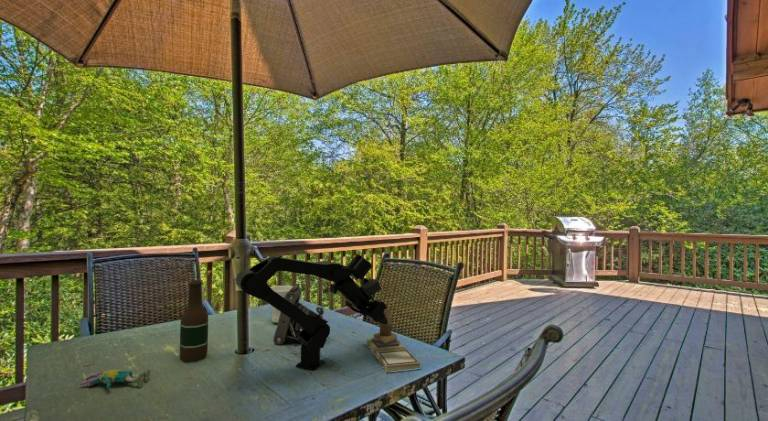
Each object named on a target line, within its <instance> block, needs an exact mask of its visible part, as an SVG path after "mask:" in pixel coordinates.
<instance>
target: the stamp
mask: <svg viewBox="0 0 768 421" xmlns="http://www.w3.org/2000/svg"><path fill="white" fill-rule="evenodd" d="M384 314H385V316H386V319H387V321H388V324H387V325H384V324H381V323H379V332H377V333H373V338H374V341H376V342H379V343H381V344H384V345H387V344H390V343H393V342H396V341H397V340H398V339H397V338H398V334H396V333H394V332H392V322H393V321H392V317H393V316H392V315H393V313H392V311H391V310H387V309H385V310H384Z"/></svg>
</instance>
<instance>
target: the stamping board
mask: <svg viewBox="0 0 768 421" xmlns="http://www.w3.org/2000/svg"><path fill="white" fill-rule="evenodd" d="M372 338H373V337H369V338H366V340H365V342H366V343H367V345H368V346H369V347H370V349H371V350H372V352H373V353H374V354H375V356H376V357H377V359H378V360H379V362H380V363H381V364H382V366H383V367H384V369H385V370H386V371H387V372H391V371H398V370H407V369H415V368H420V369H421V362H420V361H419V360H418V359H417V358H416V357H415V356H414V355H413V354H412V353H411V352H410V351H409V350H408V348H406V347H405V346H404V345H403V343H401V342H400V340H398V339H397V342H398V343H399V346H393V347H382V348H377V346H376V345H375V344H374V343H373V341H372ZM366 343H365V344H366ZM367 345H366V346H367ZM368 346H367V347H368ZM369 347H368V348H369ZM370 349H369V350H370ZM371 350H370V351H371ZM372 352H371V353H372ZM373 353H372V354H373ZM375 356H374V357H375ZM376 357H375V358H376ZM377 359H376V360H377ZM378 360H377V361H378ZM379 362H378V363H379ZM380 363H379V364H380ZM381 364H380V365H381ZM382 366H381V367H382ZM383 367H382V368H383ZM384 369H383V370H384ZM385 370H384V371H385ZM386 371H385V372H386Z"/></svg>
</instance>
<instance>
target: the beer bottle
mask: <svg viewBox="0 0 768 421" xmlns="http://www.w3.org/2000/svg"><path fill="white" fill-rule="evenodd" d="M202 284H203V282H202V280H200V279H198V280H197V279H195V280H190V281H189V282H188V286H189V291H188V292H189V293H188V300H187V301H188V302H187V307H186V309H184V311H183V313H182V315H181V318H180V326H179V327H180V328H179V329H180V330H179V334H180V336H179V360H180V361H182V362H184V363H197V362H199V361H202V360H205V358H206V357H207V355H208V347H209V346H208V345H209V314H208V312H207V309H206V308H205V307H204V306H203V299H202V297H203V296H202Z"/></svg>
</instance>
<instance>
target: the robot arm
mask: <svg viewBox="0 0 768 421" xmlns="http://www.w3.org/2000/svg"><path fill="white" fill-rule="evenodd" d="M371 269H373V264H372V263H371V262H370V261H369V260H368V259H366V258H364V257H363V256H361V255H360V254H358V253H356V254H355V255H354V257H353V259H352V260H351V261H350V262H349V263H348V264H347V265H345V264H340V263H337V262H334V261H330V260H329V261H328V260H327V261H326V260H325V261H322V260H321V261H315V262H314V261H313V262H312V261H307V260H302V259H294V258H290V257H289V258H287V257H281V256H278V255H275V254H274V255H270V256H268V257H267V258H266V259H264V260H262V261H261V262H259V263H257V264H254V265H253V266H251V267H250V268H248V269H243V270H241V271H240V272H239V273H237V275H236V277H235V285H236V287H238V288H239V289H240V290H241V291H242V292H243V293H244V294H247V295H249V296H252V297H254V298H256V299H258V300H262V301H264V302H265V303H268V304H269V305H270V306H271V307H272V306H273V307H275V308H276V309H278V310H279V311H281V312H282V313H283V314H285V315H286V316H288V317H289V318H291V319H292V320H294V321H295V322H297V323H298V324H299V326H300V327H301V328H302V329H300V331H301V332H300V333H299V334H298V335H297V337H298V340H297V341H298V342H299V343H301V346H300V362H298V363H297V364H296V365H295V368H300V369H305V370H311V371H315V370H318V369H319V367H321V366H322V365H323V364H324V363H326V362H325V361H326V360H324V359H321V349H323V348H325V344H326V341H327V339H328V338H329V336H330V335H331V334H330V333H331V326H330V325H329V324H328V323H329V321H328V320H326V319H325V318H324V317H320V316H319V314H318V313H316V312H315V311H313V310H311V309H310V312H309V314H307V313H305V312H303V311H302V310H300V309H299V308H297V307H296V306H295V305H293V304H292V303H290V302H289V301H288V300H286V299H285V298H283V297H282V296H280V295H279V294H278V293H276V292H275V291H273V290H272V289H271V287H272V286H270V285H269V284H268V283H267V282H269V281H270V280H271V278H272V277H273V276H274V275H275V274H276V273H278V272H279V271H280V272H281V271H282V272H285V273H286V272H288V273H293V274H302V275H308V276H309V275H310V276H315V277H318V278H321V279H324V280H326V281H329V282H332V283H330V284H329V292H330V293H332V294H333V295H336V294H337V293H339V294H341V295H342V296H343V297H344V300H345V301H344V305H345V306H346V307H347V308H348V309H350V310H351V311H353V312H355V313H358V314H360V315H363V316H365V317H367V318H368V319H369V320H371V321H373V322H375V323H378V324H380V323H381V324H384V325H387V324H388V321H387V319H386V316H385V314H384V310H387V308H388V305H387V304H386V303H385V302H384V301H382V300H380V299H374V300H373V298H374V296H373V295H374V294H376V293H379V292H380V291H382V286H381V284H380V281H379V280H377V279H375V278H367V277H366V276H367V274H368V273H369V272H370V271H371ZM356 281H360V286H359V284H358V283H357V282H356ZM371 300H373V301H371Z"/></svg>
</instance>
